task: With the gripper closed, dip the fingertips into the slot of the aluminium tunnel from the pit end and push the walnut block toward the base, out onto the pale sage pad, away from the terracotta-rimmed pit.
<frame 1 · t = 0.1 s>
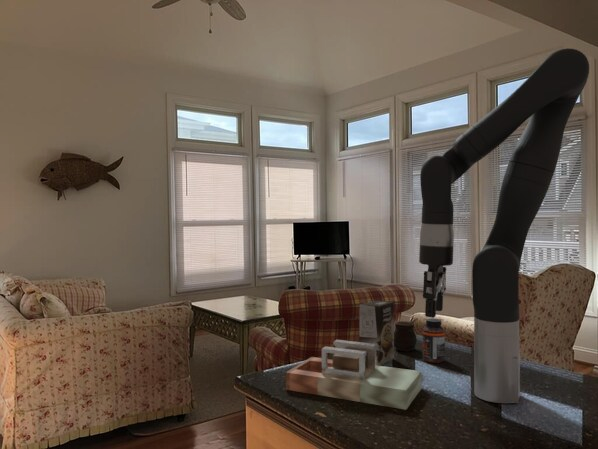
hand: (434, 313, 115), 17 cm above the counter, tool pointing down, fingers open, 8 cm apart
supplement bottle: (433, 361, 137), on the counter
tunnel: (349, 358, 115), on the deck, point 7 cm above the counter
walnut block: (349, 371, 115), point 4 cm above the counter, touching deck
mate gourd: (405, 350, 149), on the counter
coffee box: (377, 361, 137), on the counter
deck: (353, 389, 115), on the counter
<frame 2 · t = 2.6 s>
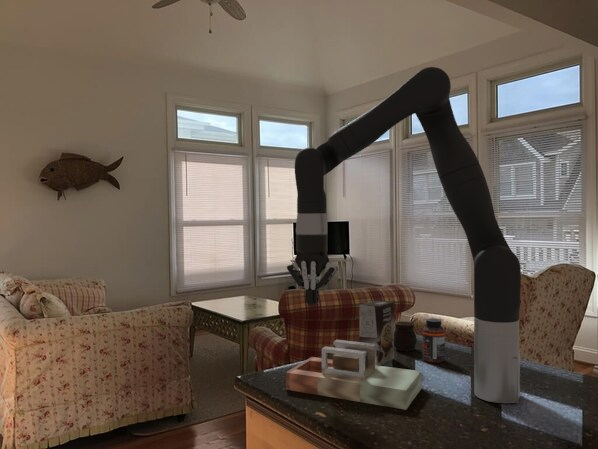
hand: (311, 304, 119), 19 cm above the counter, tool pointing down, fingers closed
nothing on the counter moved.
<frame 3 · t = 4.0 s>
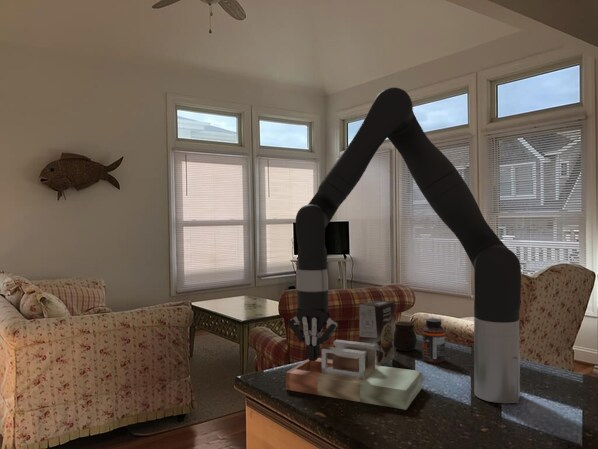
hand: (313, 359, 119), 5 cm above the counter, tool pointing down, fingers closed
nothing on the counter moved.
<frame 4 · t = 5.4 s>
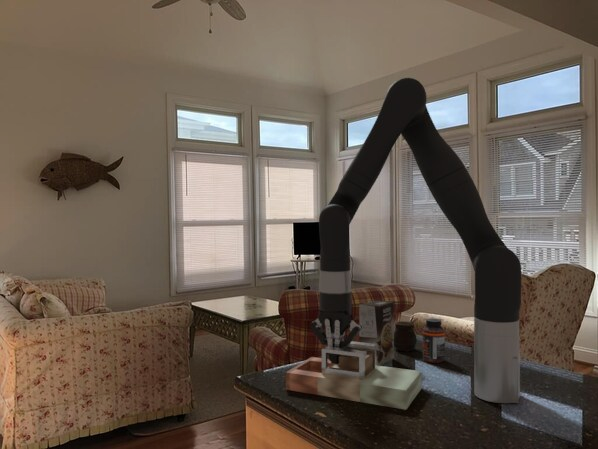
hand: (335, 363, 117), 5 cm above the counter, tool pointing down, fingers closed
walnut block: (356, 372, 114), point 4 cm above the counter, touching gripper
everything else where it was.
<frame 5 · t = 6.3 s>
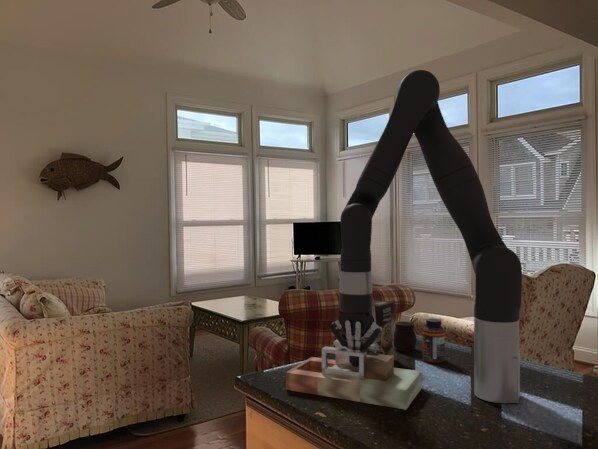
hand: (355, 365, 114), 5 cm above the counter, tool pointing down, fingers closed
walnut block: (377, 375, 112), point 4 cm above the counter, touching gripper
everything else where it was.
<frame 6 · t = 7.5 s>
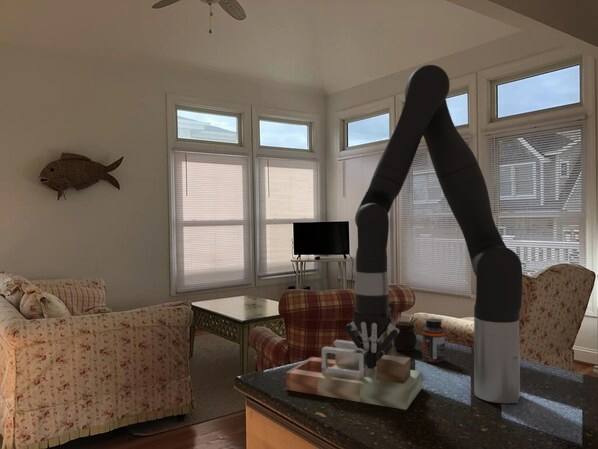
hand: (371, 367, 113), 6 cm above the counter, tool pointing down, fingers closed
walnut block: (393, 377, 110), point 4 cm above the counter, touching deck, gripper
everything else where it was.
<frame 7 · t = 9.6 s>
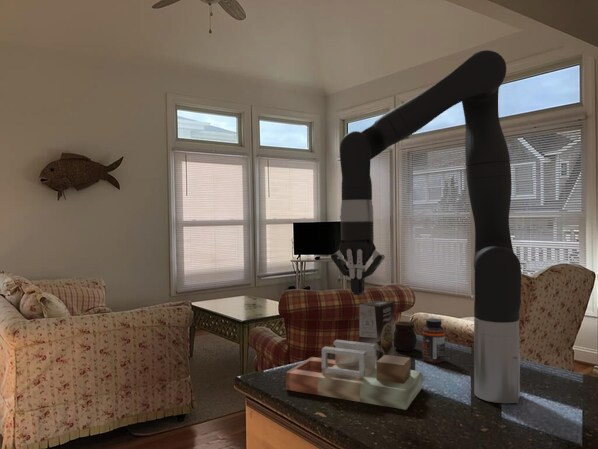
hand: (357, 294, 115), 22 cm above the counter, tool pointing down, fingers closed
walnut block: (393, 377, 110), point 4 cm above the counter, touching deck
everything else where it was.
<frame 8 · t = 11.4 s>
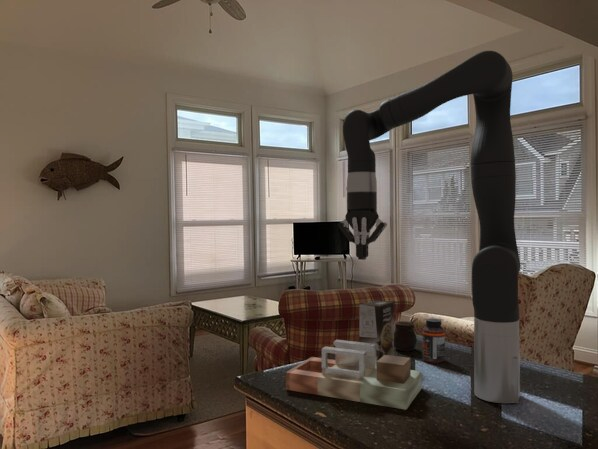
hand: (362, 259, 126), 29 cm above the counter, tool pointing down, fingers closed
nothing on the counter moved.
at the end: walnut block 0.7 cm from the target spot on the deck, point 4.0 cm above the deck's base; walnut block tilted 0°; walnut block touching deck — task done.
